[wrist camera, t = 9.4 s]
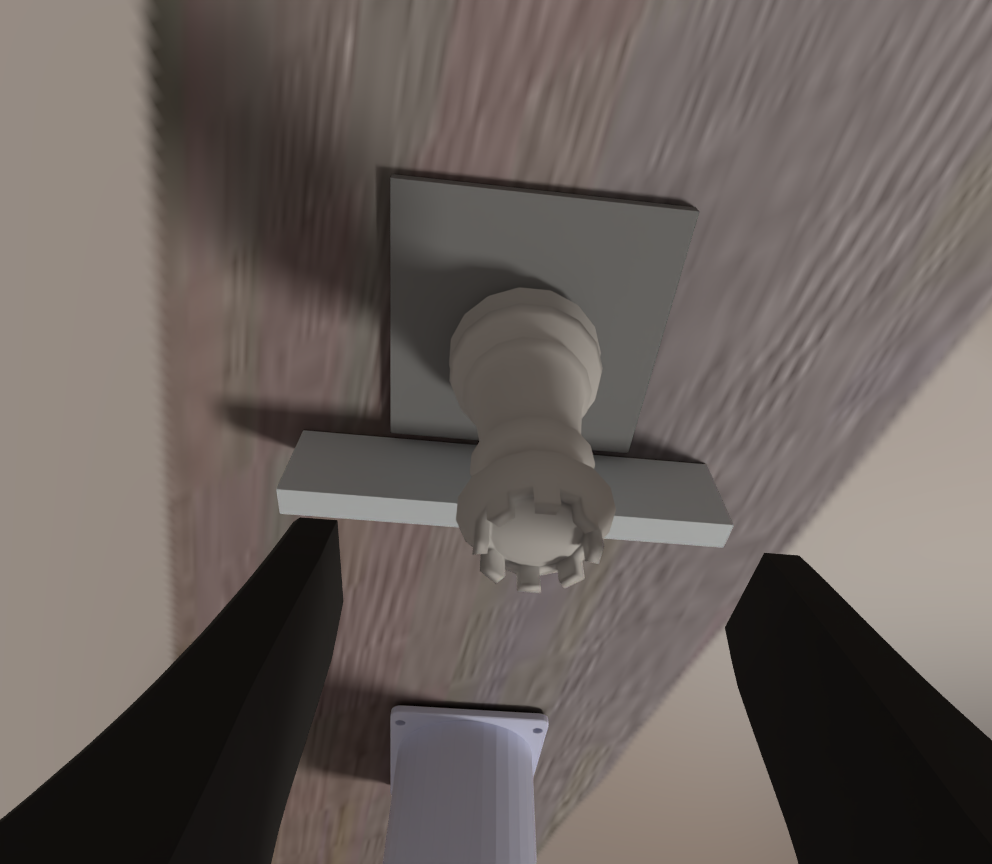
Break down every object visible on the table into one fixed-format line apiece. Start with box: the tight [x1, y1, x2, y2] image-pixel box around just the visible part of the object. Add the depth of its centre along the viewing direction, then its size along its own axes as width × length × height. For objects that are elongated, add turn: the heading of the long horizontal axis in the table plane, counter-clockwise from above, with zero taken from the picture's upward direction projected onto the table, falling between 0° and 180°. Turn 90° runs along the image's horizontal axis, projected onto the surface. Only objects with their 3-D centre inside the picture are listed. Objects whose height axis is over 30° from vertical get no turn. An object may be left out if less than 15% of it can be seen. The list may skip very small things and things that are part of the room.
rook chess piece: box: [449, 287, 616, 593], centre depth 15 cm, size 4×4×8 cm
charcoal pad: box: [390, 174, 699, 453], centre depth 18 cm, size 8×8×1 cm
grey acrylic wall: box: [276, 430, 734, 547], centre depth 20 cm, size 1×14×3 cm, turn 84°
